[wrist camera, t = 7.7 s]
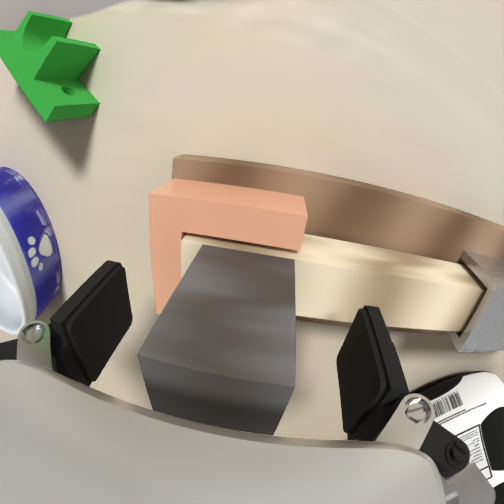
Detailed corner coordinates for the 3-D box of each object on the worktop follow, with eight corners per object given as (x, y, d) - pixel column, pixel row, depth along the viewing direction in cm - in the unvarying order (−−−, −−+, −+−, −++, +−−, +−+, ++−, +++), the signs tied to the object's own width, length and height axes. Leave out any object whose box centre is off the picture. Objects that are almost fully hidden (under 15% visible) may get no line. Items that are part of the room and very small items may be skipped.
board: (556, 250, 13) (565, 257, 12) (519, 326, 18) (525, 334, 16) (182, 154, 15) (173, 158, 14) (180, 284, 19) (172, 297, 18)
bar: (494, 272, 14) (565, 364, 5) (476, 306, 15) (533, 403, 7) (200, 217, 15) (105, 344, 6) (198, 265, 16) (126, 401, 8)
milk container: (432, 437, 28) (448, 532, 12) (343, 436, 28) (344, 563, 12) (514, 363, 20) (558, 471, 4) (439, 346, 19) (493, 527, 4)
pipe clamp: (126, 72, 13) (80, 66, 9) (93, 116, 15) (45, 123, 11) (55, 6, 10) (16, -1, 6) (30, 44, 11) (-10, 43, 7)
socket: (303, 196, 14) (307, 216, 11) (281, 303, 17) (279, 337, 14) (173, 178, 14) (149, 193, 12) (173, 283, 17) (155, 312, 15)
